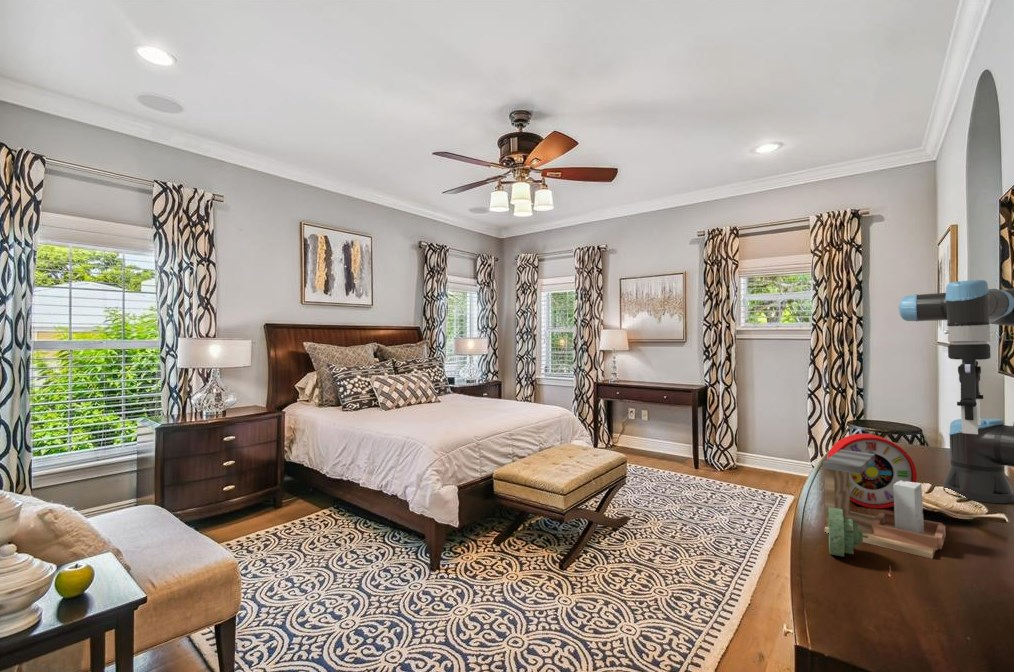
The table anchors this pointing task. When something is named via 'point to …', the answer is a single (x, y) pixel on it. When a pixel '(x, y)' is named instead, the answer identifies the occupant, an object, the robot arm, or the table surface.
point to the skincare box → (908, 506)
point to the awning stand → (884, 523)
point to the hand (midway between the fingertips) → (971, 429)
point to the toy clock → (876, 469)
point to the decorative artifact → (842, 533)
